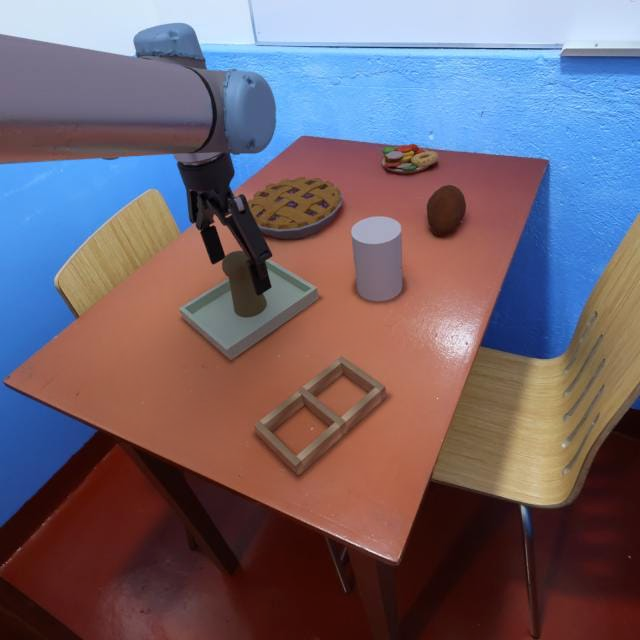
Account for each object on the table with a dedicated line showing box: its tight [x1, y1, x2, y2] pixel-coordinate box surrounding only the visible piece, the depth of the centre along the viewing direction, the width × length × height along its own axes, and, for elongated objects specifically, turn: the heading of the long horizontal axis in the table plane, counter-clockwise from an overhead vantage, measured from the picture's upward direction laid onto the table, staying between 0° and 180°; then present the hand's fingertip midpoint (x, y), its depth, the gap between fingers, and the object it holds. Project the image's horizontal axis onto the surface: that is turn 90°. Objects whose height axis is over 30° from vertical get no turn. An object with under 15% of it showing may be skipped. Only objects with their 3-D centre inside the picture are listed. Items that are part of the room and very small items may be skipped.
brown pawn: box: [221, 250, 267, 317], centre depth 81 cm, size 6×6×11 cm
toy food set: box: [381, 143, 440, 175], centre depth 117 cm, size 13×13×3 cm
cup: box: [350, 215, 403, 302], centre depth 81 cm, size 8×8×12 cm
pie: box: [247, 176, 344, 240], centre depth 105 cm, size 22×22×5 cm
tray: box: [178, 258, 320, 361], centre depth 84 cm, size 20×16×3 cm
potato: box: [426, 184, 467, 236], centre depth 94 cm, size 8×12×8 cm, turn 160°
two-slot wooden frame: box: [253, 355, 387, 477], centre depth 65 cm, size 17×9×2 cm, turn 133°
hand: (240, 275), depth 80 cm, fingers open, 13 cm apart
